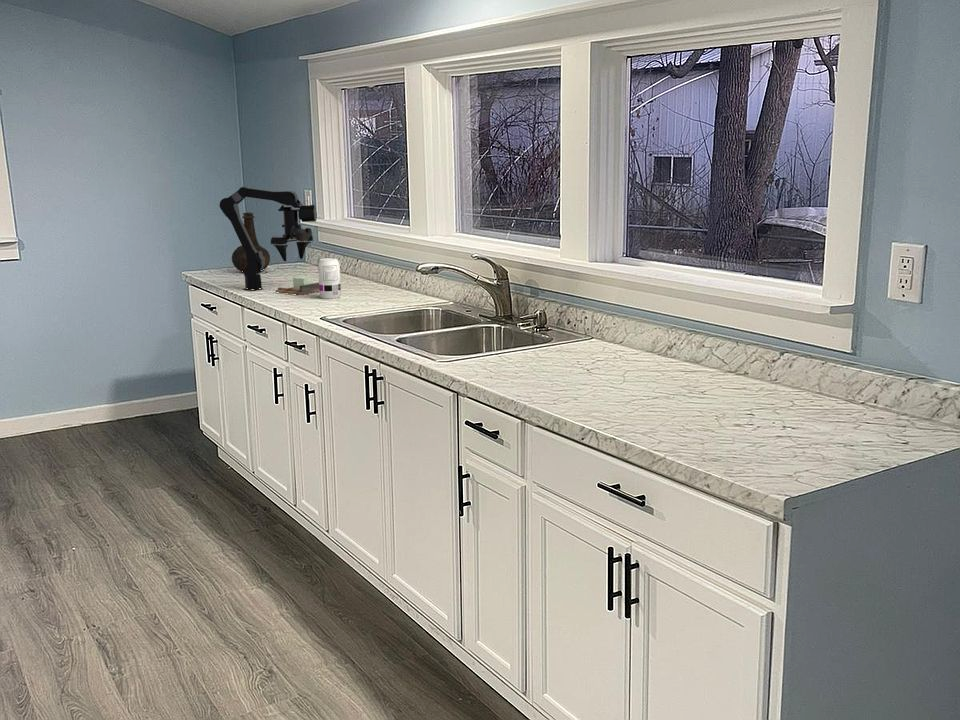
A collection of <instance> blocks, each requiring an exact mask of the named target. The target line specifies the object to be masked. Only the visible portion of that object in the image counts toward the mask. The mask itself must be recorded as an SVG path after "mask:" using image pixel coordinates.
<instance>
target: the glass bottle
mask: <svg viewBox="0 0 960 720" xmlns="http://www.w3.org/2000/svg"><path fill="white" fill-rule="evenodd" d="M242 214H243V216H242V217H241V219H243V224H244V226H245V228H246V230H247V232H248V235H249V237H250V239H251V241H252V243H253V245H254V247H255V249H256V250H257V251H258V252H259V251H262V254H263V256H264V258H265V266H264V268H263V269H265V270H266V269H267V268H268V266H269V264H270V262H271V256H270V252H269V251H268V250H267V249H266V248H265V247H263V246H261V245H260V244H259V241H258V239H257V234H256V229H255V222H254V219H255V218H256V216H254V213H253V212H243V213H242ZM231 262H232V264H233V266H234V268H236V270H238V271H239V270H240V271H243V270H244V269H245V268H246V267H247V266H248V264H247V261H246V254H245V251H244V249H243V247H242V245H240V246H237V248H236V249H234V251H233V252H232V254H231ZM263 269H261V270H263ZM240 271H239V272H240ZM263 271H264V270H263Z"/></svg>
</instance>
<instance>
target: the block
mask: <svg viewBox="0 0 960 720" xmlns="http://www.w3.org/2000/svg"><path fill="white" fill-rule="evenodd" d="M313 283H314V279H313V276H303V275H302V276H296V277H292V284H293V286H292V287H293V288H294V289H300V286H302V285H307V284H313Z"/></svg>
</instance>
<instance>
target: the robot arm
mask: <svg viewBox="0 0 960 720" xmlns="http://www.w3.org/2000/svg"><path fill="white" fill-rule="evenodd" d="M245 198H251V199H260V200H267V201H273V202H276V203H278V204H282V205H281V206H280V207H279V208H278V209H277V210H278V212H282V213H283V224H282V225H281V227H282V228H283V229H284V230H283V231H284V234H282V236H271V239H270V244H271V245H272V246H273V247H275V249H276V250H277V251H278V253H279V256H281V259H282V261H283V262H287V248H288V246H289V244H288V243H289V242H296V247H297V251H298V256H299V259H300V260H303V258H304V255H305V252H306V249H307V246H308V245H309V244H311V242H313V241H314V238H313V237H314V236H313V232H312V230H313V229H312V228H310V227H307V228H302V225H301V224H300V223H299V220H301V222H303V223H305V222H307V223H311V222H317V218H318V217H317V216H318V215H317V214H318V213H317V211H316V205H315V204H310V205H309V204H307V205H306V204H305V205H304V204H303V203H302V202H301V201H300V199H299V197H298V194H297V193H296V192H295V191H294V190H275V191H274V190H267V189H260V188H253V187H248V186H241V187H239V189H238V190H236V191H235V192H234V193H232V194H231V195H230V196H228V197H224V198H222V199H221V200H220V202H219V205H218V206H219V208H220V210H221V211H222V213H223V215H224V216H225V217H226V218H227V219H228V220H229V221H230V223H231V225H232V227H233V230H234V231H235V234H236V236H237V238H238V240H239V242H240V245H241V246H242V247H243V249H244V251H245V254H246V261H247V264H248V266H247V267H246V268H245V269H244V270H243V272H242V273H243V275H244V284H245V285H244V286H245V287H244V288H248V289H259V288H262V287H263V286H262V285H263V284H262V277H261V273H262V271H261V269H263V268H264V266H265V258H264V256H263V254H262V251H259V252H258V251H257V250H256V249H255V247H254V245H253V243H252V241H251V239H250V237H249V235H248V232H247V230H246V228H245V226H244V221H243V220H242V217H241V214H240V208H239V204H240V203H241V202H243V200H245ZM259 290H260V289H259Z"/></svg>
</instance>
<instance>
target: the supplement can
mask: <svg viewBox="0 0 960 720" xmlns="http://www.w3.org/2000/svg"><path fill="white" fill-rule="evenodd" d="M338 259H339V258H336V257H335V258H334V257H332V258H331V257H330V258H328V257H327V258H320V259H319V260H318V263H317V267H318V270H317V271H318V272H317V273H318V283H319V291H320V292H319V297H320V298H321V299H322V298H324V300H336V298H337V299H340V298H339V297H341V296H342V287H341V286H342V285H341V266H340V261H339V260H338Z"/></svg>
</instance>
